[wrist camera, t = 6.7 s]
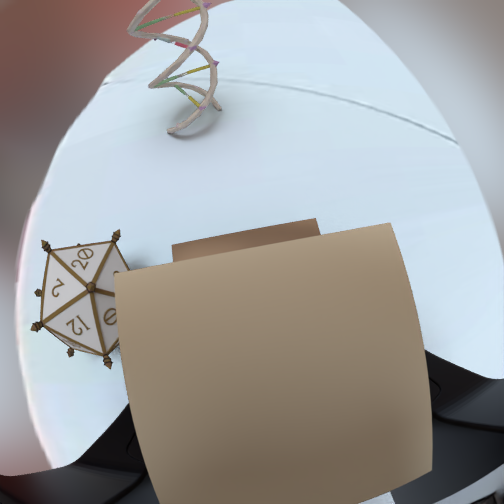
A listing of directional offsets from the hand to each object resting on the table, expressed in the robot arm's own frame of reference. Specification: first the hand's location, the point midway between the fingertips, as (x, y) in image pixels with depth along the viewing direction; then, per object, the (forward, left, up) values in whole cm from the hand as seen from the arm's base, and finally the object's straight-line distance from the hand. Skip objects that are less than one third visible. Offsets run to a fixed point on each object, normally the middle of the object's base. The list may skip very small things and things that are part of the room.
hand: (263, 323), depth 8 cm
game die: (+5, +10, -10) cm, 15 cm away
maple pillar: (-1, 0, -7) cm, 7 cm away
